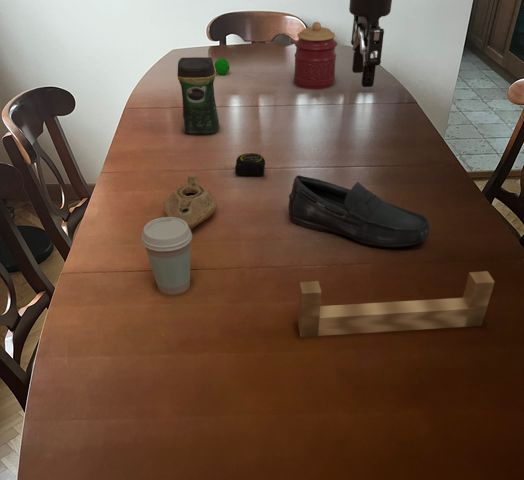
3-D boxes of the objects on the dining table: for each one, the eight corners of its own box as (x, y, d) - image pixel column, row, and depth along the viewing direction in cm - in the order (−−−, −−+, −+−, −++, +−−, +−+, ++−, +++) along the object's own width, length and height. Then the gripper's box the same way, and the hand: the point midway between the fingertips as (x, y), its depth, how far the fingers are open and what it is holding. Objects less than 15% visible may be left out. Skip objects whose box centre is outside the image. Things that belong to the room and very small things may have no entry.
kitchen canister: (285, 83, 189) (286, 22, 177) (313, 74, 195) (315, 14, 184) (315, 93, 182) (317, 30, 170) (343, 83, 188) (347, 21, 176)
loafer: (420, 260, 112) (430, 211, 105) (278, 232, 121) (278, 185, 114) (430, 233, 119) (440, 186, 112) (295, 208, 128) (297, 163, 121)
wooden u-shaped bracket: (474, 315, 99) (487, 271, 93) (481, 326, 97) (494, 282, 91) (298, 326, 98) (299, 281, 92) (300, 338, 96) (301, 293, 90)
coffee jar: (220, 125, 163) (216, 53, 151) (217, 136, 158) (212, 62, 145) (185, 125, 164) (178, 53, 152) (181, 136, 158) (173, 62, 146)
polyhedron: (232, 74, 197) (232, 58, 194) (222, 77, 194) (221, 62, 191) (222, 71, 199) (221, 55, 196) (211, 74, 197) (210, 59, 194)
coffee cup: (195, 270, 111) (189, 212, 103) (199, 297, 104) (193, 238, 96) (149, 275, 110) (139, 217, 102) (150, 302, 103) (140, 243, 95)
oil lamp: (166, 242, 118) (161, 206, 113) (165, 206, 129) (160, 172, 124) (221, 237, 119) (218, 201, 114) (215, 202, 130) (212, 168, 125)
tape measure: (235, 179, 139) (234, 164, 136) (238, 166, 144) (237, 151, 141) (263, 180, 138) (263, 164, 136) (266, 167, 143) (266, 152, 141)
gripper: (404, -8, 100) (390, 91, 111) (383, -25, 111) (372, 67, 121) (360, -8, 99) (350, 92, 110) (344, -25, 110) (336, 68, 121)
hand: (362, 79), depth 116 cm, fingers open, 8 cm apart
